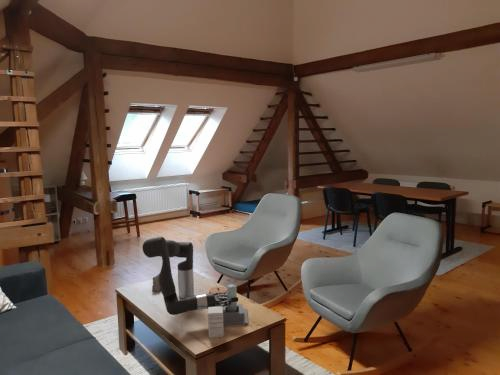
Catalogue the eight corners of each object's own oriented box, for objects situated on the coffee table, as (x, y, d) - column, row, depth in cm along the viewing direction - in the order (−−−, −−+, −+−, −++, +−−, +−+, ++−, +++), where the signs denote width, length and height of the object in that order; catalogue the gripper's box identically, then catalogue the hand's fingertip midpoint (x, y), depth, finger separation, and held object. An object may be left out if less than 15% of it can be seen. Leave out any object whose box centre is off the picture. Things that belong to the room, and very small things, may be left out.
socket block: (217, 311, 219) (217, 303, 218) (246, 310, 220) (246, 302, 219) (216, 325, 203) (216, 316, 203) (247, 324, 204) (247, 315, 203)
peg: (227, 311, 213) (226, 284, 211) (236, 310, 214) (236, 284, 212) (227, 315, 208) (226, 288, 206) (236, 315, 209) (236, 287, 207)
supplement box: (208, 330, 199) (207, 306, 197) (223, 329, 199) (222, 305, 198) (208, 338, 191) (207, 313, 190) (223, 337, 192) (223, 312, 190)
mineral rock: (168, 283, 262) (168, 268, 261) (174, 288, 253) (173, 273, 252) (149, 287, 256) (148, 272, 254) (154, 293, 247) (153, 277, 245)
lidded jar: (218, 297, 238) (218, 282, 237) (231, 301, 232) (231, 286, 230) (205, 303, 230) (205, 287, 229) (218, 308, 223) (218, 292, 222)
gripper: (207, 300, 198) (240, 295, 203) (202, 289, 212) (233, 285, 217) (208, 314, 199) (240, 309, 204) (202, 302, 213) (233, 298, 218)
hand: (236, 297), depth 211 cm, fingers closed on peg, 5 cm apart
